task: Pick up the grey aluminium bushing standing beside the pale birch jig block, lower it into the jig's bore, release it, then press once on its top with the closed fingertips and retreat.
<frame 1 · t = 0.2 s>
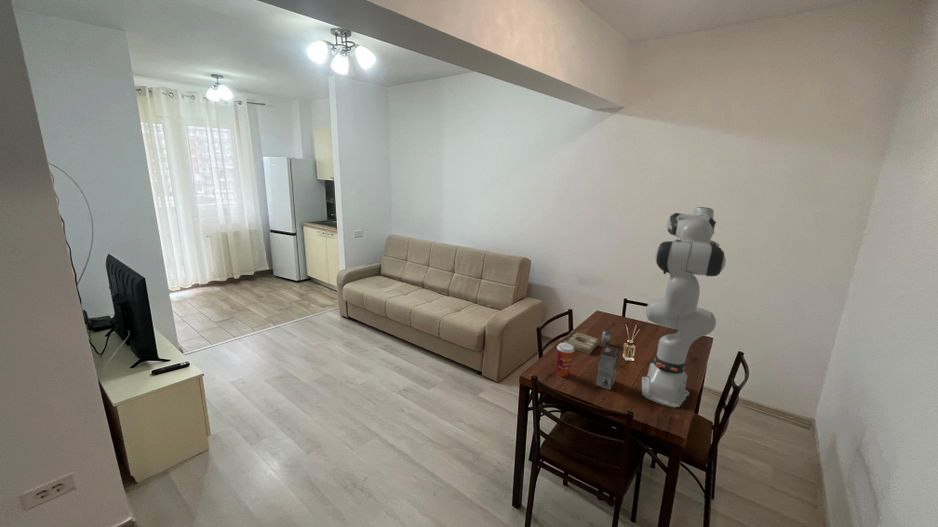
hand: (691, 270, 177), 48 cm above the table, fingers open, 8 cm apart
bushing: (604, 343, 203), on the table
jig: (580, 345, 200), on the table
coffee box: (605, 383, 165), on the table
paper cup: (562, 374, 171), on the table
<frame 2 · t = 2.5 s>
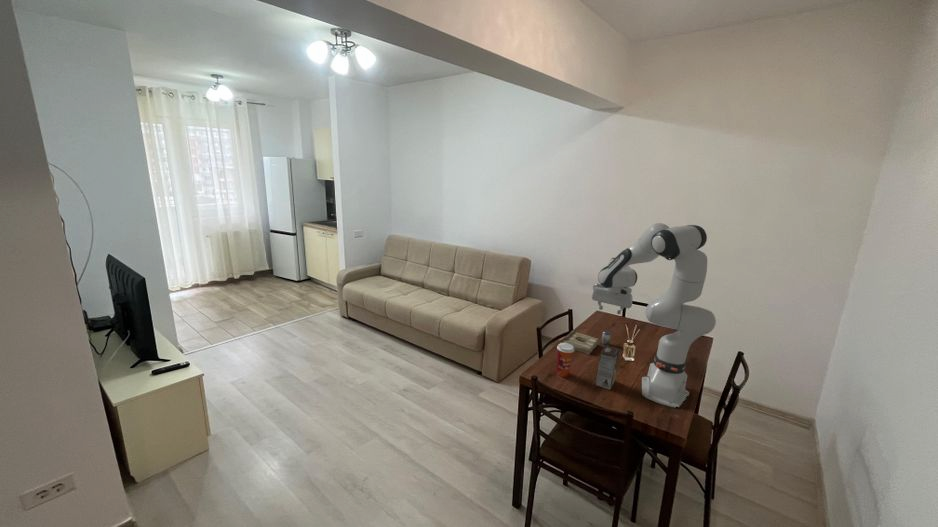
hand: (609, 311, 199), 19 cm above the table, fingers open, 8 cm apart
nothing on the table moved.
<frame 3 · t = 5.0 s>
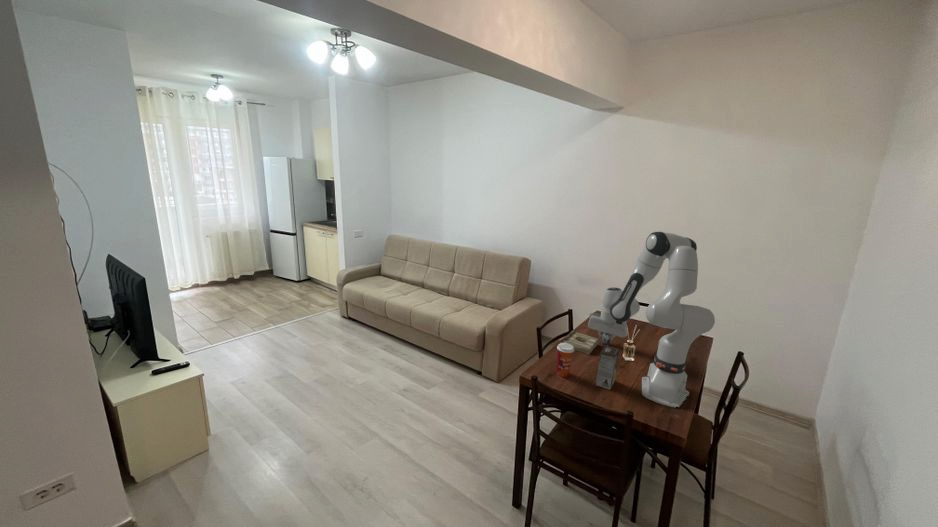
hand: (605, 340, 202), 2 cm above the table, fingers closed on bushing, 4 cm apart
bushing: (604, 343, 203), on the table, touching gripper
everything else where it was.
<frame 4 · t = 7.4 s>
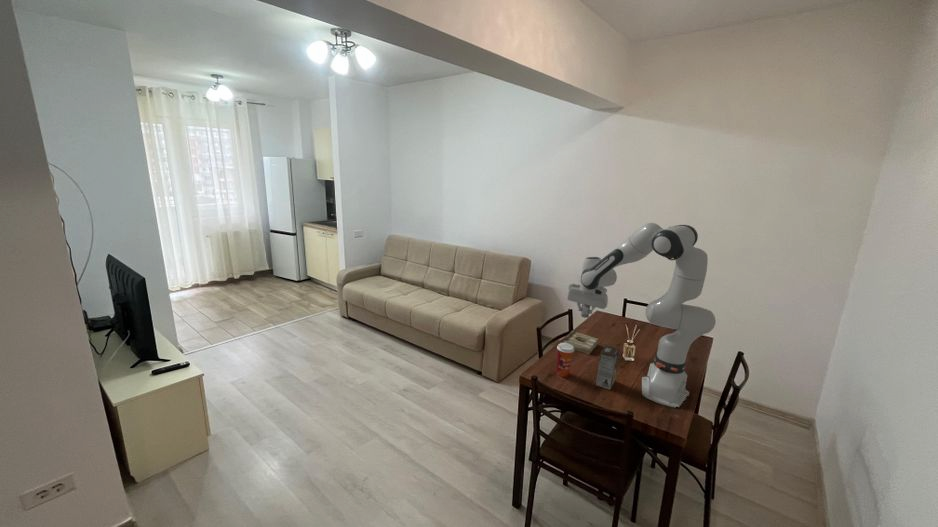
hand: (585, 312, 195), 19 cm above the table, fingers closed on bushing, 4 cm apart
bushing: (584, 316, 196), point 17 cm above the table, touching gripper
everything else where it was.
when the fingers open (4 cm above the table, at t = 9.6 s): bushing drops 2 cm, resting in jig.
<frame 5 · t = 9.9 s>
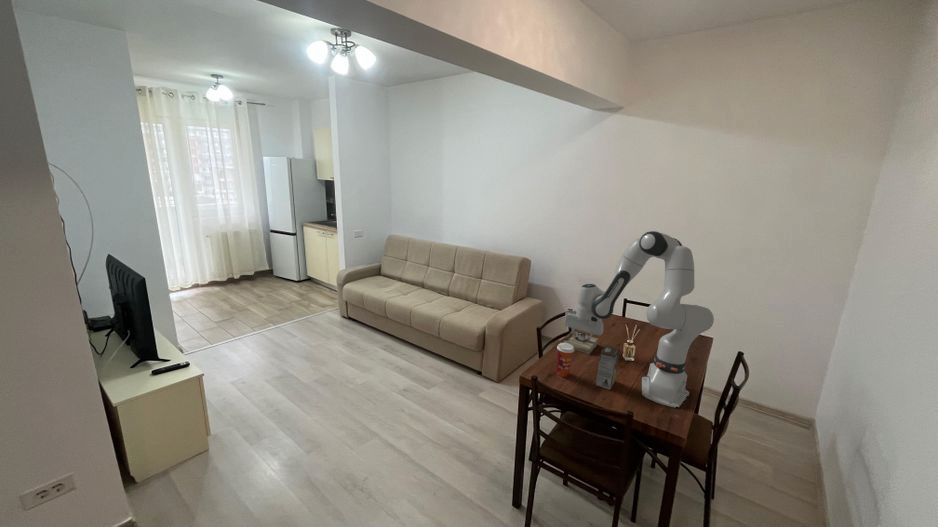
hand: (581, 337, 198), 4 cm above the table, fingers open, 6 cm apart
bushing: (580, 345, 200), resting in jig
everything else where it was.
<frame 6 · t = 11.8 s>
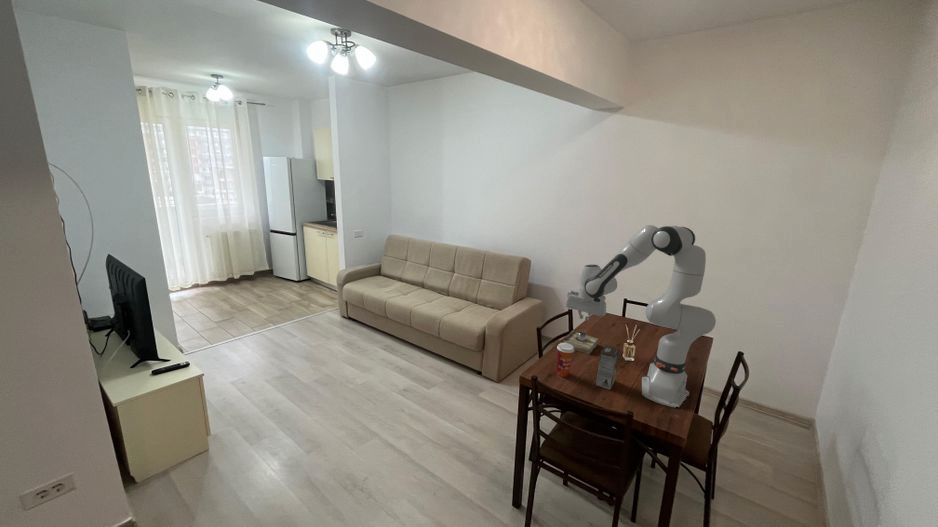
hand: (583, 319, 196), 15 cm above the table, fingers closed
nothing on the table moved.
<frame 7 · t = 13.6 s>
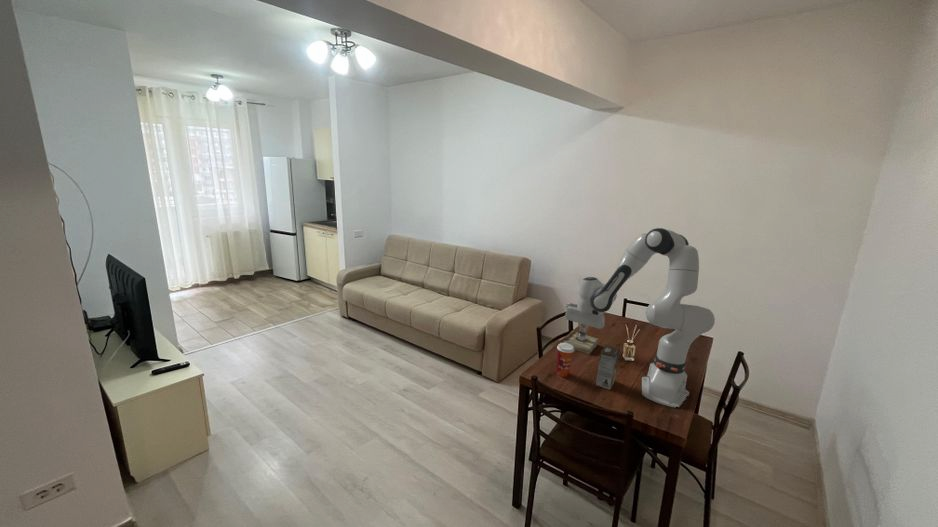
hand: (582, 331, 198), 8 cm above the table, fingers closed
nothing on the table moved.
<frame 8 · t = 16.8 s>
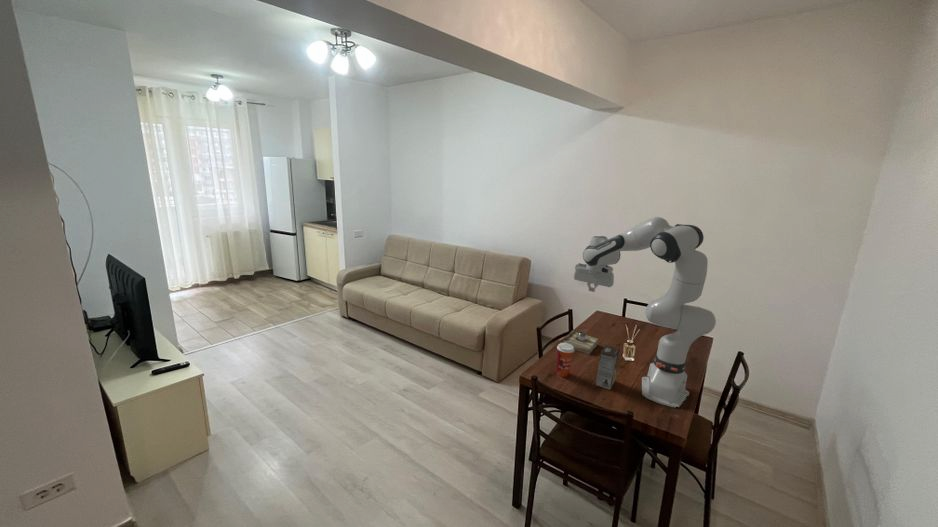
hand: (591, 291, 198), 29 cm above the table, fingers closed
nothing on the table moved.
at the end: bushing 0.2 cm off-centre on the jig, point 0.0 cm above the jig's base; bushing tilted 0°; the gripper is holding nothing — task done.
